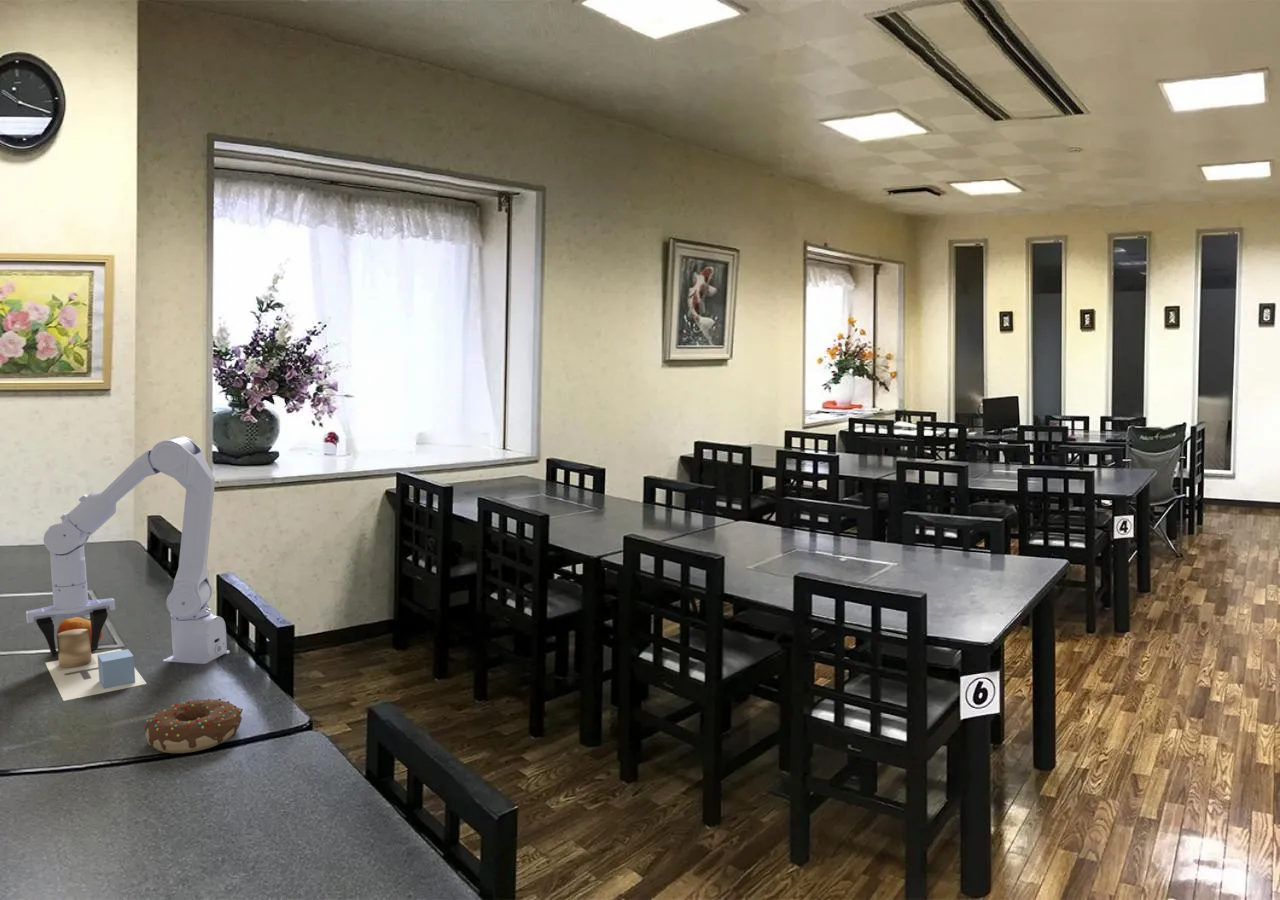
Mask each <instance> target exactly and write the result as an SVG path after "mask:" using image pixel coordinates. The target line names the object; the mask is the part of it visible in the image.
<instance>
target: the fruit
mask: <svg viewBox="0 0 1280 900" xmlns="http://www.w3.org/2000/svg"><path fill="white" fill-rule="evenodd" d="M73 629H88V630H90V644H91V649H93V648H92V642H91V633H92V630H91V620H89V619H88V618H82V617H80V616H79V617H78V616H73V617H72V618H66V619H64V620H62V621H61V623H59V625H58V628H57V632H56V635H57V634H59V633H61V632H64V631H68V630H73ZM102 637H103V629H102V630H101V633H100V637H99V641H98V643H99V642H100V640H101V638H102Z"/></svg>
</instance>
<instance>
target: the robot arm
mask: <svg viewBox="0 0 1280 900" xmlns="http://www.w3.org/2000/svg"><path fill="white" fill-rule="evenodd" d="M159 473H162V474H164V475H166V476H169V477H171V478H173V479H174V480H175V481H177V482H178V483H179V485H181V486H182V487H183V488H185V497H184V498H185V499H184V509H183V510H184V511H183V516H182V517H183V520H182V530H181V536H180V537H181V539H180V546H179V547H180V549H179V557H178V568H177V571H176V575H175V577H174V579H173V586H172V588H171V592H169V593H168V596H167V598H166V609H167V611H168V613H169V614H170V628H171V645H172V646H171V647H172V655H171V656H168V657H167V658H163V660H162V662H170V663H171V662H172V663H184V664H185V663H186V664H188V663H189V664H199V665H200V664H204V665H205V664H208V663H210V662H212V661H214V660H216V659H218V658H219V657H221V656H223V655H225V654H227V655H228V654H230V650H228V647H227V646H228V645H227V644H228V642H227V627H226V626H227V625H226V622H225V620H224V618H223V617H221V616H219V615H215V614H213V613H212V610H211V607H210V605H209V604H208V602H209V601H210V600H211V598H212V595H213V587H212V585H211V583H210V579H209V577H210V575H209V574H210V572H209V569H208V567H207V564H208V554H209V544H210V538H211V537H210V534H211V525H212V517H213V516H212V515H213V508H214V507H213V506H214V497H215V486H216V478H215V475H214V474H213V472H212V470H211V468H210V466H209V464H208V462H207V460H206V458H205V456H204V453H203V449H202V448H201V447H200V446H199V445H198V444H197V443H195V442H194V441H193V440H192V439H191V438H188V437H186V436H182V435H179V436H178V435H177V436H173V437H171V438H170V439H169V438H168V439H165V440H161V441H159V442H158V443H156V444H155V445H154V446H153V447H152V448H151V449H148V450H146V451H145V452H144V453H141V455H140V456H138V457H137V458H136V459H135V460H134V461H133V462H131V464H129V465H128V467H127V468H126V469H125V470H123V471H122V472H121V473H120V474H119V475H118V476H117V477H116V478H115V479H114V480H113V481H112V482H111V483H110V484H109V485H108V486H106V488H105V489H104V490H103V491H99V492H96V491H94V492H90V493H89V494H83V495H82V496H81V497H80V498H78V501H79V503H78V504H77V505H76V506H75V507H74V508H73V509H72V510H70V511H69V512H68V513H66V512H65V513H63V514H62V515H61V516H60V519H61V522H59V523H55V524H52V525H50V526H49V527H48V529H47V530H46V531H45V533H44V535H43V545H44V546H45V548H46V549H47V550H48V551H49V556H50V557H49V558H50V560H49V561H50V562H49V563H50V574H51V575H50V576H51V589H52V603H53V605H50V606H45V607H40V608H36V609H31V610H26V611H25V616H26V617H25V618H26V622H27V624H31V623H36V625H37V626H38V628H39V629H40V631H41V632H42V634H43V636H44V638H45V639H46V641H47V645H48V647H49V648H48V649H49V651H50V656H51V657H52V658H54V657H57V648H56V642H55V624H54V622H53V619H57V618H58V619H59V618H64V617H71V616H77V615H82V614H83V615H84V614H89V619H90V621H91V630H92V633H91V642H92V648H91V649H93V650H97V649H98V647H99V642H100V640H99V637H100V633H101V630H102V631H103V627H104V625H105V623H106V620H108V615H109V614H108V611H114V610H116V600H115V599H114V598H113V597H111V598H109V597H108V598H103V599H102V598H101V599H89V594H88V593H89V592H88V581H87V566H86V556H85V555H86V553H85V545H86V544H87V542H88V540H89V538H90V537H91V536H92V535H93V534H94V533H95V532H97V530H99V529H100V528H101V527H102V526H103V525H104V524H105V523H106V522H107V521H109V520H110V518H112V517H113V516H114V515H116V513H117V503H118V502H119V501H120V500H121V499H122V498H124V497H125V496H126V495H127V494H128V493H130V492H131V491H132V490H133V489H135V488H136V487H137V485H139V484H140V483H142V481H144V480H145V479H146V478H148V477H151V476H154V475H157V474H159ZM98 641H99V642H98Z"/></svg>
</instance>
